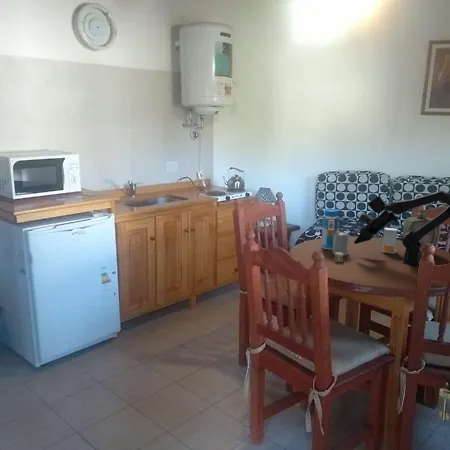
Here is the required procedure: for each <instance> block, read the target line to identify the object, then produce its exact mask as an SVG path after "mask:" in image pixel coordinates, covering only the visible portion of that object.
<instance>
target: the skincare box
mask: <svg viewBox="0 0 450 450" xmlns="http://www.w3.org/2000/svg"><path fill="white" fill-rule="evenodd" d="M398 231H399V230H398V228H392V227H391V228H390V227H384V228H383V238H382V250H381V253H387V254H393V255H394V254H395V253H396V252H397V251H396V250H397V240H398Z"/></svg>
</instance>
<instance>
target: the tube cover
mask: <svg viewBox="0 0 450 450" xmlns="http://www.w3.org/2000/svg"><path fill="white" fill-rule="evenodd" d="M349 241H350V235H349V233H347V232H341V231H340V232H339V231H338V233H334V235H333V250H332V254H333V255H334V256H335V252H340V253H343V257H344V256H347V255H348V254H349V245H350V244H349V243H350V242H349Z"/></svg>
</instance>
